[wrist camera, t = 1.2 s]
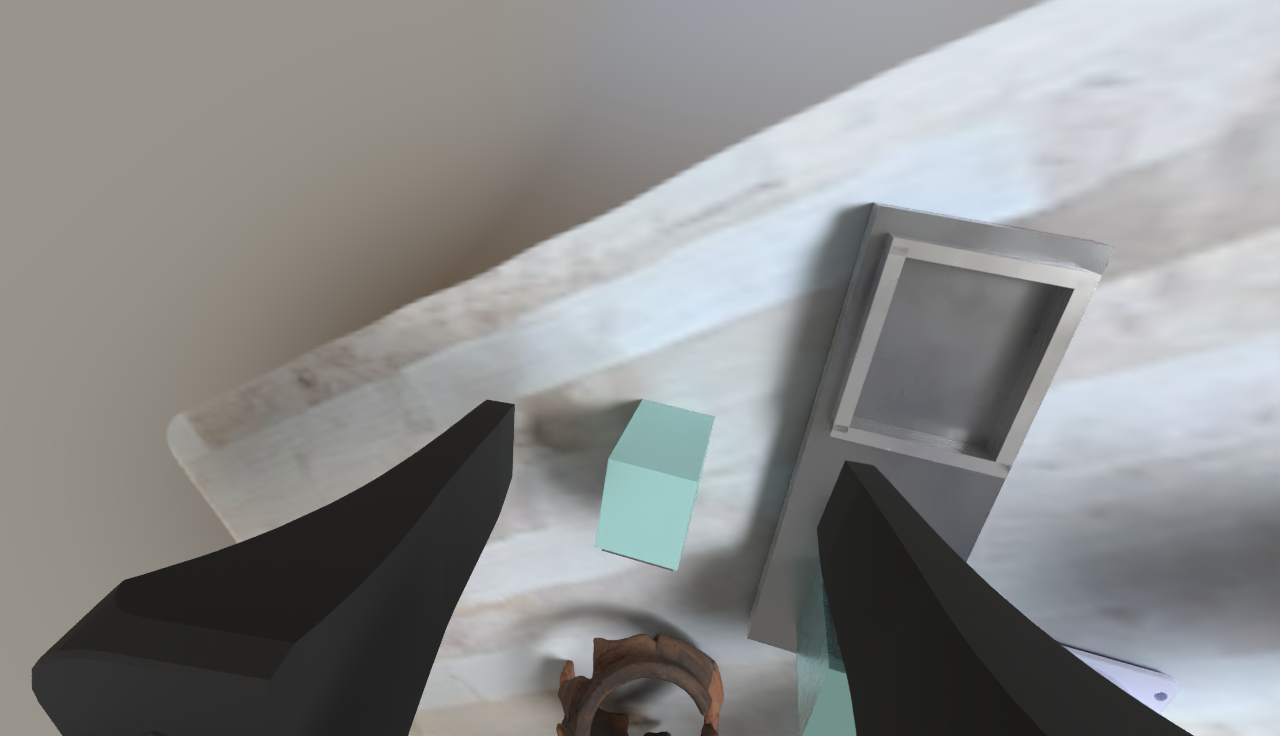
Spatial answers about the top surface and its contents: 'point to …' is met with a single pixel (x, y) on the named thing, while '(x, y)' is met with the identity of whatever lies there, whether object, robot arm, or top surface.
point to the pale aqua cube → (653, 484)
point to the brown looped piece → (620, 661)
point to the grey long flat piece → (920, 405)
